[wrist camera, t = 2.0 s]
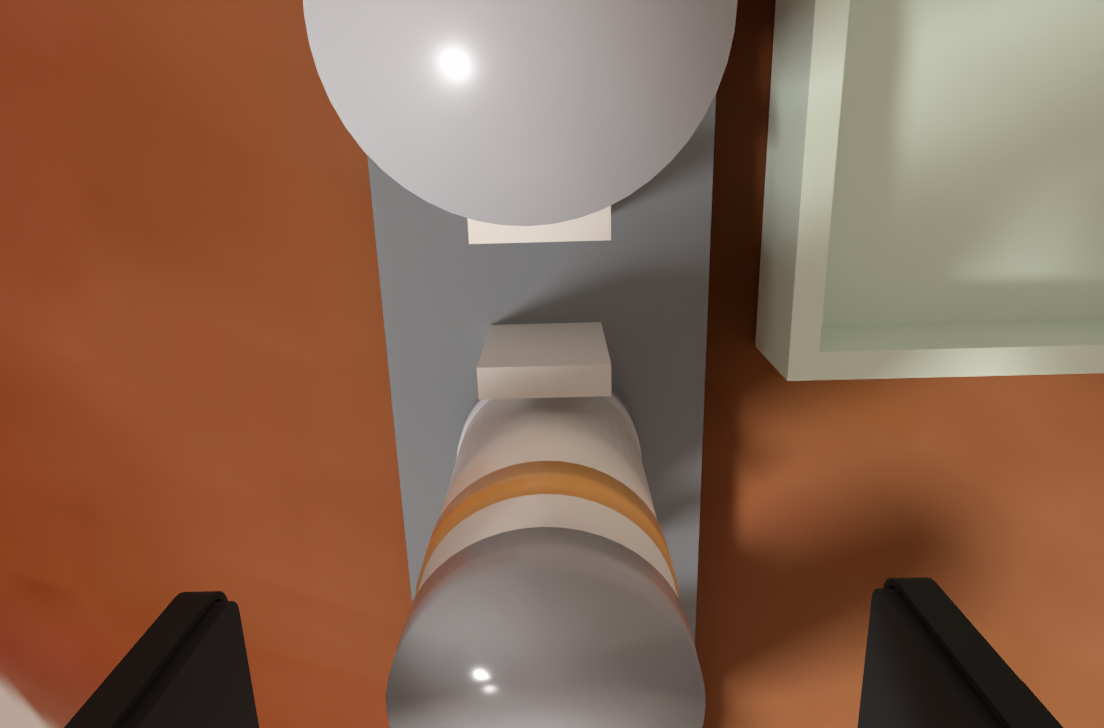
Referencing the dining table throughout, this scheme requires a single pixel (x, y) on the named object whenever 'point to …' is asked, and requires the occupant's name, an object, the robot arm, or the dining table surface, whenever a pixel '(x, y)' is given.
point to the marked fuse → (547, 583)
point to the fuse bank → (538, 220)
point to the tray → (934, 189)
